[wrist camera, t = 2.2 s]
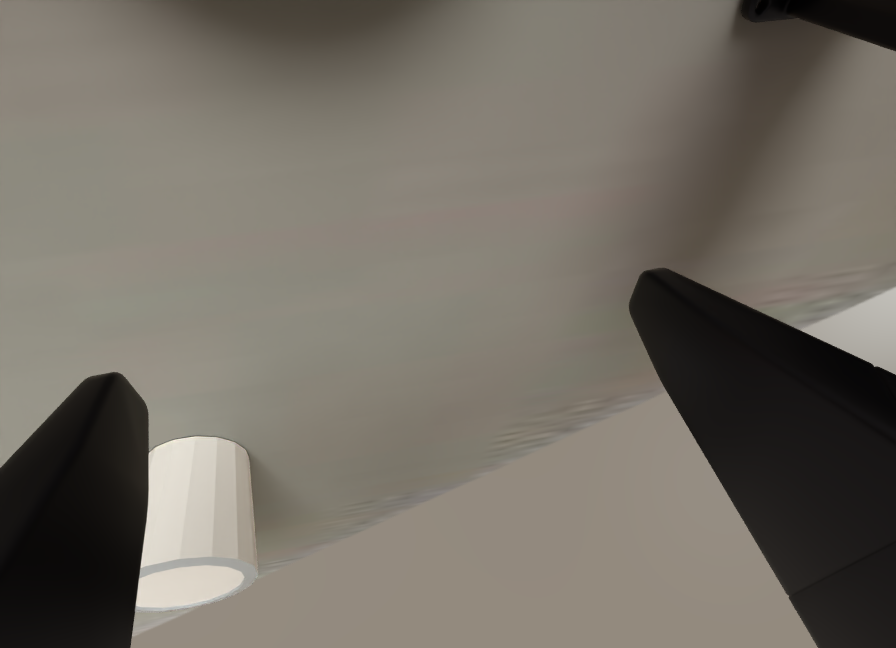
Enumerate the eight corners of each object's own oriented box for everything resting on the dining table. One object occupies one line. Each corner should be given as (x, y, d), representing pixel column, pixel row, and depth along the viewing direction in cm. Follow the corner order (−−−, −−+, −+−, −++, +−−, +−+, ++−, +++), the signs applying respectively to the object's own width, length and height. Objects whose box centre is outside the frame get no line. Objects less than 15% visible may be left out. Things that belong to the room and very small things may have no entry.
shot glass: (99, 470, 26) (62, 608, 21) (194, 414, 25) (176, 549, 20) (201, 501, 31) (189, 619, 26) (284, 456, 30) (286, 572, 25)
